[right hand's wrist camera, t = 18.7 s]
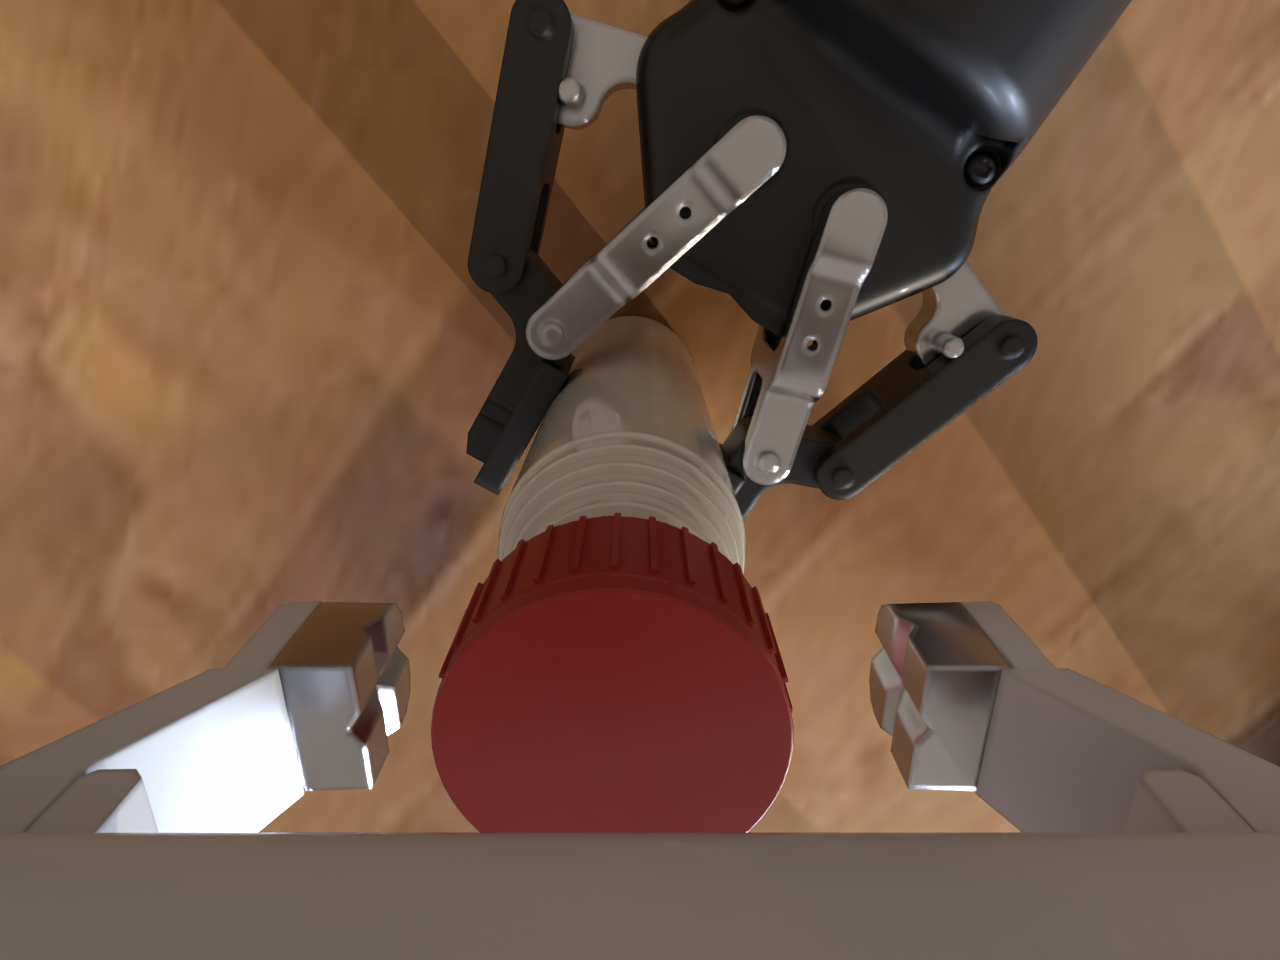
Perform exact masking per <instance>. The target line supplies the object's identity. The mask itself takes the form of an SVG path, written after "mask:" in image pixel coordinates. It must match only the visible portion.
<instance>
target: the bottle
mask: <svg viewBox="0 0 1280 960" xmlns="http://www.w3.org/2000/svg"><path fill="white" fill-rule="evenodd" d="M571 355H573V356H575V359H574V362H573V364H572V367H571V369H570V372H569V374H568V377H567V378H566V380H565V382H564V384H563V385H562V387H561V389H560V390H559V392H558V394H557V396H556V397H555V399H554V401H553V402H552V403H551V405H550V407H549V408H548V410H547V412H546V414H545V416H544V418H543V420H542V423H541V425H540V427H539V430H538V432H537V434H536V437H535V439H534V441H533V443H532V446H531V448H530V450H529V453H528V455H527V457H526V460H525V462H524V464H523V466H522V469H521V471H520V473H519V476H518V478H517V480H516V483H515V485H514V487H513V489H512V492H511V494H510V496H509V499H508V501H507V503H506V506H505V508H504V512H503V516H502V519H501V524H500V533H499V547H498V559H499V560H500V561H502V560H503V559H504V558H505V557H506V556H507V555H509V554H510V553H511V552H512V551H513V550H515V549H516V546H517V544H518V542H519V541H520V540H522V539H524V541H525V542H526V541H528V540H529V539H531V538H532V537H534V536H536V535H538V534H540V533H542V532H545V531H546V529H547V526H549V525H551V524H553V525H554V527H555V526H558V525H563V524H566V523H569V522H572V521H577V520H579V518H580V516H584V515H586V517H587V519H588V518H593V517H601V516H609V515H610V516H614V514H615V513H621V516H624V517H637V518H643V519H649V516H652V517H656V521H660V522H665V523H667V524H669V525H672V526H675V527H677V528H680V529H681V528H682V526H684V527H687V528H688V529H689V533H691V534H693V535H695V536H697V537H699V538H700V539H702V540H704V541H706V542H708V543H709V544H711V542H714V543H715V544H717V546H718V551H719V552H721V553H722V554H723V555H724V556H726V557H727V558H728V559H729V560H730V561H731V562H732V563H733V564H735V563H736V562H738V564H739V565H740V566H741V569H742V572H743V574H744V565H745V546H746V544H745V529H744V524H743V519H742V515H741V511H740V508H739V505H738V502H737V499H736V496H735V493H734V489H733V486H732V483H731V480H730V477H729V474H728V471H727V468H726V464H725V461H724V458H723V455H722V452H721V449H720V446H719V443H718V439H717V436H716V433H715V430H714V427H713V424H712V421H711V418H710V414H709V411H708V408H707V405H706V402H705V399H704V396H703V393H702V389H701V386H700V383H699V380H698V377H697V374H696V371H695V368H694V364H693V361H692V359H691V356H690V353H689V351H688V350H687V348H686V346H685V345H684V343H683V342H682V340H681V339H680V338H679V337H678V336H677V335H676V334H675V333H674V332H673V331H672V330H670V329H669V328H668V327H666V326H665V325H663V324H661V323H659V322H657V321H655V320H652V319H649V318H645V317H640V316H621V317H616V318H612V319H609V320H607V321H606V322H605V323H604V324H603V325H602V326H600V327H599V328H598V329H597V330H596V331H595V332H594V333H593V334H592V335H590V336H589V337H588V338H587V339H586V340H585V341H584V342H583V343H582V344H581V345H579V346H578V347H577V348H576V349H575V350H574V351H573V352H572V354H571Z"/></svg>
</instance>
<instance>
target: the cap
mask: <svg viewBox="0 0 1280 960" xmlns="http://www.w3.org/2000/svg"><path fill="white" fill-rule="evenodd" d="M439 678H443V679H442V682H441V684H440V687H439V689H438V692H437V696H436V700H435V703H434V707H433V713H432V723H431V738H432V750H433V754H434V759H435V763H436V768H437V770H438V773H439V775H440V778H441V780H442V783H443V785H444V787H445V789H446V791H447V792H448V794H449V796H450V798H451V799H452V801H453V803H454V804H455V805H456V807H457V808H458V809H459V810H460V812H461V813H462V814H463V816H464V817H465V818H466V819H467V820H468V821H469V822H470V823H471V824H472V825H473V826H474V827H475V828H476V829H477V830H478V831H479V832H480V833H747V832H749V831H750V830H751V829H752V828H753V827H754V826H755V825H756V824H757V823H758V821H759V820H760V819H761V818H762V817H763V816H764V815H765V813H766V812H767V811H768V809H769V808H770V806H771V805H772V804H773V802H774V801H775V799H776V797H777V795H778V793H779V791H780V789H781V787H782V785H783V783H784V781H785V778H786V775H787V772H788V769H789V766H790V762H791V756H792V750H793V720H792V714H791V713H792V705H791V701H790V698H789V694H788V691H787V688H786V684H785V683H787V682H788V678H787V674H786V671H785V668H784V665H783V661H782V658H781V655H780V652H779V648H778V645H777V642H776V639H775V635H774V632H773V629H772V626H771V622H770V619H769V616H768V613H766V614H765V611H764V608H763V605H762V601H761V598H760V595H759V591H758V589H757V588H756V587H753V588H751V586H750V585H749V583H748V582H747V580H746V579H745V577H744V576H743V572H742V569H741V566H740V565H739V564H738V562H736V563H735V564H733V563H732V562H731V561H730V560H729V559H728V558H727V557H726V556H724V555H723V554H722V553H721V552H719V551H718V546H717V544H715V543H714V542H711V544H709V543H708V542H706V541H704V540H702V539H700V538H699V537H697V536H695V535H693V534H691V533H689V529H688V528H687V527H684V526H682V528H681V529H680V528H677V527H675V526H672V525H669V524H667V523H665V522H660V521H656V517H652V516H649V519H643V518H637V517H624V516H621V513H615V514H614V516H610V515H609V516H601V517H593V518H588V519H587V517H586V515H584V516H580V518H579V520H577V521H572V522H569V523H566V524H563V525H558V526H555V527H554V525H553V524H551V525H549V526H547V529H546V531H545V532H542V533H540V534H538V535H536V536H534V537H532V538H531V539H529V540H528V541H526V542H525V541H524V539H522V540H520V541H519V542H518V544H517V546H516V549H515V550H513V551H512V552H511V553H510V554H509V555H507V556H506V557H505V558H504V559H503V560H502V561H500V560H499V559H497V560H496V561H495V562H494V564H493V567H492V569H491V572H490V574H489V576H488V578H487V579H486V581H485V582H484V584H481V583H478V585H477V586H476V589H475V591H474V593H473V596H472V598H471V601H470V603H469V605H468V608H467V609H466V612H465V614H464V616H463V619H462V621H461V623H460V626H459V628H458V631H457V633H456V635H455V638H454V640H453V643H452V645H451V647H450V650H449V652H448V654H447V657H446V659H445V662H444V664H443V666H442V669H441V671H440V674H439Z"/></svg>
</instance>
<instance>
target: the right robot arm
mask: <svg viewBox="0 0 1280 960" xmlns="http://www.w3.org/2000/svg"><path fill="white" fill-rule="evenodd" d="M404 632H405V630H404V624H403V618H402V612H401V610H400V608H399V607H398V606H397V604H396V603H349V602H325V603H323V602H321V601H316V602H288V603H283V604H281V605H280V606H279V607H278V608H277V609H276V610H275V612H274V613H273V614H272V615H271V616H270V617H269V618H268V619H267V620H266V622H265V623H264V624H263V625H262V626H261V627H260V628H259V629H258V631H257V632H256V633H255V634H254V635H253V636H252V637H251V638H250V640H249V641H248V642H247V643H246V644H245V645H244V646H243V647H242V649H241V650H240V651H239V652H238V653H237V654H236V655H235V656H234V657H233V659H232V660H231V661H230V662H229V663H228V664H227V665H226V666H225V668H224V669H210V670H208V671H205V672H203V673H201V674H199V675H197V676H195V677H192V678H190V679H188V680H186V681H184V682H182V683H179V684H177V685H175V686H173V687H171V688H169V689H166V690H164V691H162V692H160V693H158V694H156V695H154V696H151V697H149V698H147V699H145V700H143V701H141V702H138V703H136V704H134V705H132V706H130V707H128V708H125V709H123V710H121V711H119V712H117V713H115V714H112V715H110V716H108V717H106V718H104V719H102V720H100V721H97V722H95V723H93V724H91V725H89V726H87V727H84V728H82V729H80V730H78V731H76V732H74V733H71V734H69V735H67V736H65V737H63V738H61V739H58V740H56V741H54V742H52V743H50V744H48V745H46V746H43V747H41V748H39V749H37V750H35V751H33V752H30V753H28V754H26V755H24V756H22V757H20V758H17V759H15V760H13V761H11V762H9V763H7V764H4V765H2V766H1V767H0V960H1280V767H1279V766H1277V765H1275V764H1273V763H1271V762H1268V761H1266V760H1264V759H1262V758H1260V757H1258V756H1256V755H1253V754H1251V753H1249V752H1247V751H1245V750H1243V749H1240V748H1238V747H1236V746H1234V745H1232V744H1230V743H1228V742H1225V741H1223V740H1221V739H1219V738H1217V737H1215V736H1212V735H1210V734H1208V733H1206V732H1204V731H1202V730H1200V729H1197V728H1195V727H1193V726H1191V725H1189V724H1187V723H1184V722H1182V721H1180V720H1178V719H1176V718H1174V717H1172V716H1169V715H1167V714H1165V713H1163V712H1161V711H1159V710H1156V709H1154V708H1152V707H1150V706H1148V705H1146V704H1144V703H1141V702H1139V701H1137V700H1135V699H1133V698H1131V697H1128V696H1126V695H1124V694H1122V693H1120V692H1118V691H1116V690H1113V689H1111V688H1109V687H1107V686H1105V685H1103V684H1100V683H1098V682H1096V681H1094V680H1092V679H1090V678H1088V677H1085V676H1083V675H1081V674H1079V673H1077V672H1075V671H1072V670H1070V669H1056V668H1055V666H1054V665H1053V664H1052V663H1051V662H1050V661H1049V660H1048V659H1047V658H1046V656H1045V655H1044V654H1043V653H1042V652H1041V651H1040V650H1039V649H1038V647H1037V646H1036V645H1035V644H1034V643H1033V642H1032V641H1031V640H1030V638H1029V637H1028V636H1027V635H1026V634H1025V633H1024V632H1023V631H1022V629H1021V628H1020V627H1019V626H1018V625H1017V624H1016V623H1015V622H1014V621H1013V619H1012V618H1011V617H1010V616H1009V615H1008V614H1007V613H1006V612H1005V610H1004V609H1003V608H1002V607H1001V606H1000V605H999V604H997V603H994V602H992V601H983V602H951V603H910V604H885V605H881V608H880V610H879V613H878V616H877V623H876V629H875V632H876V634H877V636H878V638H879V640H880V642H881V643H882V645H883V647H882V648H881V649H880V651H879V652H878V653H877V654H876V655H875V656H874V657H873V658H872V659H871V668H870V678H869V682H870V696H871V703H872V707H873V711H874V715H875V717H876V719H877V722H878V724H879V726H880V728H881V729H883V730H884V731H886V732H887V733H889V734H890V735H892V736H893V739H892V746H891V753H892V755H893V757H894V759H895V761H896V764H897V766H898V768H899V770H900V772H901V774H902V777H903V779H904V781H905V783H906V785H907V787H908V789H934V790H970V791H976V794H977V795H978V796H979V797H980V798H981V799H983V800H984V801H985V802H986V803H987V804H989V805H990V806H991V807H992V808H993V809H995V810H996V811H997V812H998V813H999V814H1001V815H1002V816H1003V817H1004V818H1005V819H1007V820H1008V821H1009V822H1010V823H1011V824H1013V825H1014V826H1015V827H1016V828H1018V829H1019V830H1020V831H1021V832H1022V833H258V832H259V831H260V830H262V829H263V828H264V827H265V826H266V825H268V824H269V823H270V822H271V821H272V820H274V819H275V818H276V817H277V816H278V815H280V814H281V813H282V812H283V811H284V810H286V809H287V808H288V807H289V806H290V805H292V804H293V803H294V802H295V801H297V800H298V799H299V798H300V797H301V796H303V795H304V791H309V790H345V789H372V788H373V785H374V783H375V781H376V779H377V777H378V774H379V772H380V770H381V768H382V766H383V764H384V761H385V759H386V757H387V755H388V753H389V746H388V739H387V736H388V735H390V734H391V733H393V732H394V731H396V730H397V729H399V728H400V726H401V724H402V721H403V719H404V717H405V714H406V711H407V706H408V701H409V696H410V667H409V659H408V658H407V657H406V656H405V655H404V654H403V653H402V652H401V651H400V650H399V648H398V647H397V645H398V643H399V642H400V640H401V638H402V636H403V634H404Z"/></svg>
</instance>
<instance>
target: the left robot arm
mask: <svg viewBox="0 0 1280 960" xmlns="http://www.w3.org/2000/svg"><path fill="white" fill-rule="evenodd" d="M1131 1H1132V0H691V1H690V2H689V3H688V4H687V5H686V6H685V7H683V8H682V9H681V10H679V11H678V12H676V13H675V14H673V15H672V16H670V17H668V18H667V19H665V20H664V21H662V22H661V23H660V24H659V25H658V26H657V27H656V28H655V29H654V30H653V31H652V32H651V34H650V35H649V36H648V37H647V36H644V35H641V34H638V33H634V32H631V31H628V30H625V29H621V28H618V27H615V26H611V25H608V24H605V23H602V22H598V21H595V20H592V19H589V18H585V17H582V16H579V15H575V14H573V13H571V12H569V10H568V8H567V6H566V4H565V2H564V1H563V0H516V1H515V3H514V5H513V7H512V11H511V15H510V21H509V26H508V32H507V38H506V44H505V50H504V55H503V61H502V67H501V73H500V78H499V84H498V90H497V96H496V102H495V107H494V113H493V119H492V125H491V130H490V136H489V142H488V148H487V153H486V159H485V165H484V171H483V177H482V182H481V188H480V194H479V200H478V205H477V211H476V217H475V223H474V229H473V234H472V240H471V246H470V252H469V257H468V269H469V273H470V275H471V277H472V279H473V281H474V282H475V283H476V284H477V285H478V286H479V287H480V288H481V289H483V290H485V291H487V292H490V293H491V294H492V295H493V297H494V298H495V299H496V300H497V301H498V302H499V304H500V305H501V306H502V307H503V308H504V310H505V311H506V312H507V313H508V314H509V316H510V317H511V319H512V321H513V323H514V326H515V330H516V344H515V348H514V350H513V352H512V354H511V356H510V358H509V359H508V361H507V363H506V365H505V367H504V369H503V370H502V372H501V374H500V376H499V378H498V379H497V381H496V383H495V385H494V387H493V389H492V390H491V392H490V394H489V396H488V398H487V400H486V401H485V403H484V405H483V407H482V409H481V410H480V412H479V414H478V416H477V418H476V420H475V421H474V423H473V425H472V427H471V429H470V430H469V432H468V441H467V452H466V453H467V454H469V455H471V456H472V457H474V458H476V459H478V460H480V461H482V462H483V463H484V465H483V466H482V468H481V470H480V472H479V473H478V475H477V477H476V479H475V481H474V483H476V484H478V485H479V486H481V487H483V488H485V489H487V490H489V491H491V492H492V493H494V494H496V495H499V493H500V491H501V490H502V488H503V486H504V485H505V483H506V481H507V480H508V478H509V476H510V474H511V473H512V471H513V469H514V468H515V466H516V464H517V462H518V461H519V459H520V457H521V456H522V454H523V452H524V450H525V449H526V447H527V445H528V444H529V442H530V440H531V438H532V437H533V435H534V433H535V432H536V430H537V428H538V426H539V425H540V423H541V421H542V420H543V418H544V416H545V414H546V412H547V410H548V408H549V407H550V405H551V403H552V402H553V401H554V399H555V397H556V396H557V394H558V392H559V390H560V389H561V387H562V385H563V384H564V382H565V380H566V378H567V377H568V374H569V372H570V369H571V367H572V364H573V362H574V359H575V356H573V355H571V353H572V352H573V351H574V350H575V349H576V348H577V347H578V346H579V345H581V344H582V343H583V342H584V341H585V340H586V339H587V338H588V337H589V336H590V335H592V334H593V333H594V332H595V331H596V330H597V329H598V328H599V327H600V326H602V325H603V324H604V323H605V322H606V321H607V320H608V319H609V318H610V317H611V316H613V315H614V314H615V313H616V312H617V311H618V310H619V309H620V308H622V307H623V306H624V305H625V304H626V303H628V302H630V301H631V300H633V299H634V298H635V297H636V296H638V295H639V294H640V293H641V292H642V291H643V290H644V289H646V288H647V287H648V286H649V285H650V284H651V283H652V282H653V281H654V280H656V279H657V278H658V277H659V276H660V275H661V274H662V273H663V272H664V271H665V270H667V269H668V268H669V267H670V268H672V269H673V270H675V271H676V272H678V273H680V274H681V275H683V276H684V277H686V278H687V279H689V280H691V281H692V282H694V283H696V284H699V285H702V286H705V287H709V288H712V289H715V290H719V291H722V292H725V293H728V294H730V295H731V296H732V298H733V299H734V300H735V301H736V302H737V303H738V304H739V305H740V307H741V308H742V309H743V310H744V311H745V312H746V313H747V314H748V315H749V316H750V317H751V319H752V320H753V321H755V322H757V323H758V324H760V326H759V329H758V333H757V336H756V339H755V343H754V346H753V350H752V354H751V365H750V371H749V375H748V378H747V381H746V385H745V388H744V391H743V394H742V398H741V401H740V404H739V407H738V411H737V414H736V417H735V420H734V424H733V427H732V432H731V433H730V435H729V436H728V438H727V439H726V441H725V442H724V444H723V445H722V444H720V443H719V442H718V443H719V446H720V449H721V452H722V455H723V458H724V461H725V464H726V468H727V471H728V474H729V477H730V480H731V483H732V486H733V489H734V493H735V496H736V499H737V502H738V505H739V508H740V511H741V515H742V519H743V520H744V519H745V517H746V516H747V514H748V513H749V512H750V510H751V509H752V508H753V506H754V505H755V503H756V502H757V501H758V499H759V498H760V497H761V495H762V494H763V493H764V492H765V491H767V490H768V489H770V488H771V487H773V486H776V485H779V484H784V483H791V484H798V485H803V486H808V487H814V488H819V489H821V491H822V492H823V493H824V494H825V495H826V496H828V497H829V498H832V499H836V500H844V499H848V498H851V497H853V496H855V495H856V494H858V493H859V492H860V491H862V490H863V489H864V488H865V487H867V486H868V485H869V484H871V483H872V482H873V481H875V480H876V479H877V478H879V477H880V476H881V475H882V474H884V473H885V472H886V471H888V470H889V469H890V468H892V467H893V466H894V465H895V464H897V463H898V462H899V461H901V460H902V459H903V458H905V457H906V456H907V455H909V454H910V453H911V452H912V451H914V450H915V449H916V448H918V447H919V446H920V445H922V444H923V443H924V442H925V441H927V440H928V439H929V438H931V437H932V436H933V435H935V434H936V433H937V432H939V431H940V430H941V429H942V428H944V427H945V426H946V425H948V424H949V423H950V422H952V421H953V420H954V419H955V418H957V417H958V416H959V415H961V414H962V413H963V412H965V411H966V410H967V409H969V408H970V407H971V406H972V405H974V404H975V403H976V402H978V401H979V400H980V399H982V398H983V397H984V396H985V395H987V394H988V393H989V392H991V391H992V390H993V389H995V388H996V387H997V386H999V385H1000V384H1001V383H1002V382H1004V381H1005V380H1006V379H1008V378H1009V377H1010V376H1012V375H1013V374H1014V373H1015V372H1017V371H1018V370H1019V369H1021V368H1022V367H1023V366H1025V365H1026V364H1027V363H1028V362H1029V361H1030V360H1031V358H1032V357H1033V355H1034V353H1035V351H1036V348H1037V335H1036V332H1035V330H1034V329H1033V327H1032V326H1031V325H1030V324H1028V323H1027V322H1024V321H1022V320H1019V319H1016V318H1014V317H1012V316H1010V315H1007V314H1005V313H1004V312H1003V311H1002V310H1001V309H1000V307H999V306H998V305H997V303H996V302H995V300H994V299H993V298H992V296H991V295H990V294H989V292H988V291H987V289H986V288H985V287H984V285H983V284H982V282H981V281H980V280H979V278H978V277H977V275H976V274H975V273H974V271H973V270H972V268H971V267H970V266H969V264H968V263H967V261H966V260H967V258H968V256H969V254H970V252H971V250H972V247H973V244H974V240H975V235H976V229H977V223H978V220H979V216H980V213H981V210H982V207H983V205H984V202H985V200H986V198H987V196H988V194H989V192H990V191H991V189H992V188H993V186H994V185H995V183H996V182H997V181H998V180H999V179H1000V177H1001V176H1002V175H1003V174H1004V173H1005V171H1006V170H1007V169H1008V168H1009V167H1010V165H1011V164H1012V163H1013V162H1014V161H1015V159H1016V158H1017V157H1018V156H1019V154H1020V153H1021V152H1022V151H1023V149H1024V148H1025V147H1026V145H1027V144H1028V142H1029V141H1030V140H1031V138H1032V137H1033V136H1034V134H1035V133H1036V131H1037V130H1038V129H1039V127H1040V126H1041V125H1042V123H1043V122H1044V120H1045V119H1046V118H1047V116H1048V115H1049V114H1050V112H1051V111H1052V109H1053V108H1054V107H1055V105H1056V104H1057V103H1058V101H1059V100H1060V98H1061V97H1062V96H1063V94H1064V93H1065V92H1066V90H1067V89H1068V87H1069V86H1070V85H1071V83H1072V82H1073V81H1074V79H1075V78H1076V76H1077V75H1078V74H1079V72H1080V71H1081V70H1082V68H1083V67H1084V65H1085V64H1086V63H1087V61H1088V60H1089V59H1090V57H1091V56H1092V54H1093V53H1094V52H1095V50H1096V49H1097V48H1098V46H1099V45H1100V43H1101V42H1102V41H1103V39H1104V38H1105V37H1106V35H1107V34H1108V32H1109V31H1110V30H1111V28H1112V27H1113V26H1114V24H1115V23H1116V21H1117V20H1118V19H1119V17H1120V16H1121V15H1122V13H1123V12H1124V10H1125V9H1126V7H1127V6H1128V5H1129V3H1130V2H1131ZM625 88H631V89H636V90H637V104H638V118H639V131H640V145H641V159H642V172H643V186H644V200H645V207H644V208H643V209H642V210H641V211H640V212H639V213H638V214H637V215H636V216H635V217H634V218H633V219H632V220H630V221H629V222H628V223H627V224H626V225H625V226H624V227H623V228H622V229H621V230H620V231H619V232H618V233H617V234H616V235H614V236H613V237H612V238H611V239H610V240H609V241H608V242H607V243H606V244H605V245H604V246H603V247H602V248H601V249H600V250H599V251H598V252H597V253H596V254H595V255H594V256H592V257H591V258H590V259H589V260H588V261H587V262H586V263H585V264H584V265H583V266H582V267H581V268H580V269H579V270H578V271H576V272H575V273H574V274H573V275H572V276H571V277H570V278H569V279H568V280H567V281H566V282H565V283H564V284H563V285H562V284H561V282H560V281H559V280H558V279H557V277H556V276H555V275H554V274H553V273H552V271H551V270H550V269H549V268H548V266H547V265H546V264H545V263H544V261H543V260H542V259H541V258H540V257H539V255H538V254H539V249H540V245H541V240H542V235H543V230H544V225H545V220H546V215H547V210H548V206H549V201H550V196H551V191H552V186H553V181H554V176H555V172H556V167H557V162H558V157H559V152H560V147H561V142H562V138H563V133H564V128H568V129H573V130H580V129H584V128H587V127H589V126H590V125H592V124H593V123H594V122H595V121H596V119H597V118H598V116H599V114H600V112H601V109H602V106H603V104H604V102H605V101H606V99H607V98H608V97H609V96H610V95H611V94H612V93H614V92H616V91H618V90H620V89H625ZM650 237H651V240H648V239H649V238H650ZM922 291H923V304H922V307H921V310H920V312H919V313H918V315H917V316H916V317H915V318H914V319H913V320H912V321H911V322H910V324H909V325H908V327H907V329H906V332H905V337H904V341H905V346H906V350H905V351H904V352H903V353H902V354H900V355H899V356H898V357H897V358H895V359H894V360H893V361H892V362H890V363H889V364H888V365H887V366H885V367H884V368H883V369H882V370H881V371H879V372H878V373H877V374H876V375H874V376H873V377H872V378H871V379H869V380H868V381H867V382H866V383H864V384H863V385H862V386H861V387H859V388H858V389H857V390H856V391H855V392H853V393H852V394H851V395H850V396H848V397H847V398H846V399H845V400H843V401H842V402H841V403H840V404H838V405H837V406H836V407H835V408H834V409H832V410H831V411H830V412H829V413H827V414H826V415H825V416H824V417H822V418H821V419H820V420H819V421H817V422H816V423H815V424H814V425H813V426H809V425H806V424H807V421H808V418H809V416H810V413H811V410H812V407H813V405H814V403H815V402H816V401H817V400H819V399H820V398H821V396H822V395H823V393H824V391H825V389H826V386H827V383H828V381H829V378H830V375H831V372H832V369H833V366H834V363H835V360H836V358H837V355H838V352H839V349H840V346H841V343H842V340H843V337H844V335H845V332H846V329H847V326H848V323H849V321H851V320H853V319H856V318H858V317H861V316H863V315H866V314H868V313H870V312H873V311H875V310H878V309H880V308H883V307H885V306H888V305H890V304H892V303H895V302H897V301H900V300H902V299H905V298H907V297H910V296H912V295H915V294H917V293H919V292H922ZM811 340H813V344H812V345H811V346H809V347H807V344H808V342H809V341H811Z"/></svg>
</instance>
